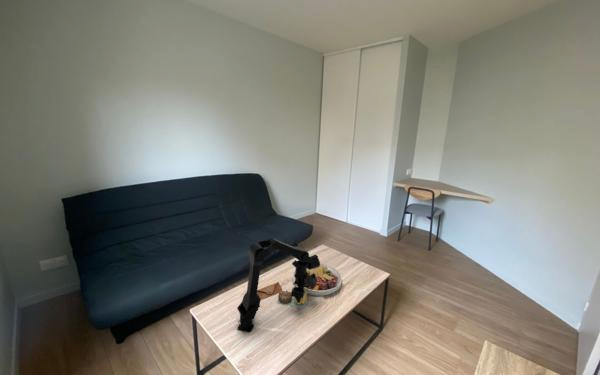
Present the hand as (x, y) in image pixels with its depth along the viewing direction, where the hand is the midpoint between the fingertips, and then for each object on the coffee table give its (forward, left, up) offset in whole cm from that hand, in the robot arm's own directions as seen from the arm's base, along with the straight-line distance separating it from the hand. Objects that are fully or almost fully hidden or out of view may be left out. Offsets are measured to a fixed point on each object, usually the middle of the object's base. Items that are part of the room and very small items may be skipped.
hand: (300, 298), depth 128 cm
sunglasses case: (+4, +19, -4) cm, 20 cm away
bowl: (+22, -6, -4) cm, 23 cm away
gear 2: (0, 0, -1) cm, 1 cm away
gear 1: (0, +8, -2) cm, 9 cm away
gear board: (0, +4, -4) cm, 6 cm away
